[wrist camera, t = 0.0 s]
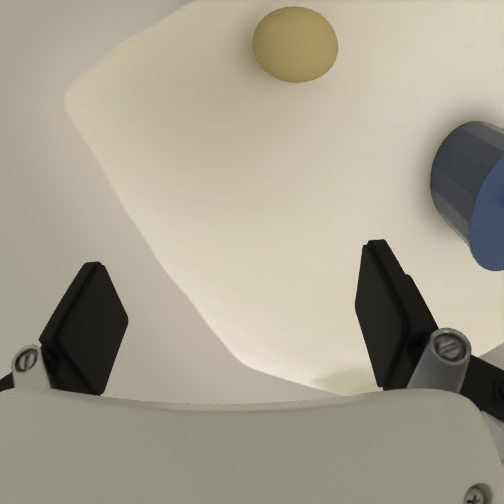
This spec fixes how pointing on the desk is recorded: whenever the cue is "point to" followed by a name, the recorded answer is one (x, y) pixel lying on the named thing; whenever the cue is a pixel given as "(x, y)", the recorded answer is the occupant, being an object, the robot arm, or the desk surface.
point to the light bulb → (295, 44)
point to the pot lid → (488, 219)
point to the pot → (463, 170)
